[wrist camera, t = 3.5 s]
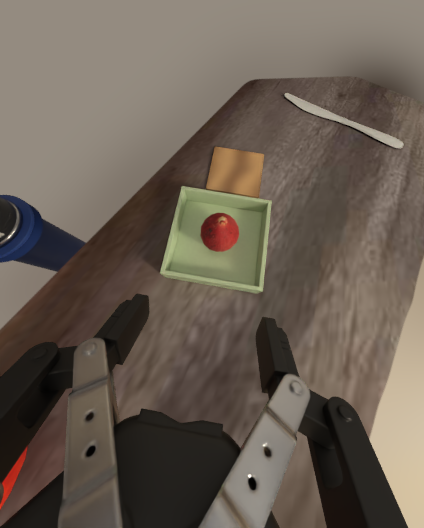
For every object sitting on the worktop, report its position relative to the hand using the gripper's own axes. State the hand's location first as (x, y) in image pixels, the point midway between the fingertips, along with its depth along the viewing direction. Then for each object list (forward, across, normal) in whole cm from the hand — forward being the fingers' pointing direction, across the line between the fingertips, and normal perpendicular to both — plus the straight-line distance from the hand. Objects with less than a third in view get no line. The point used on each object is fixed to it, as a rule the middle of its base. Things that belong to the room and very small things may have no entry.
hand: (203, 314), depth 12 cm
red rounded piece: (+20, 0, +3) cm, 20 cm away
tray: (+20, 0, +3) cm, 20 cm away
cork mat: (+30, -1, -8) cm, 31 cm away
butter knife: (+43, -21, -20) cm, 52 cm away
